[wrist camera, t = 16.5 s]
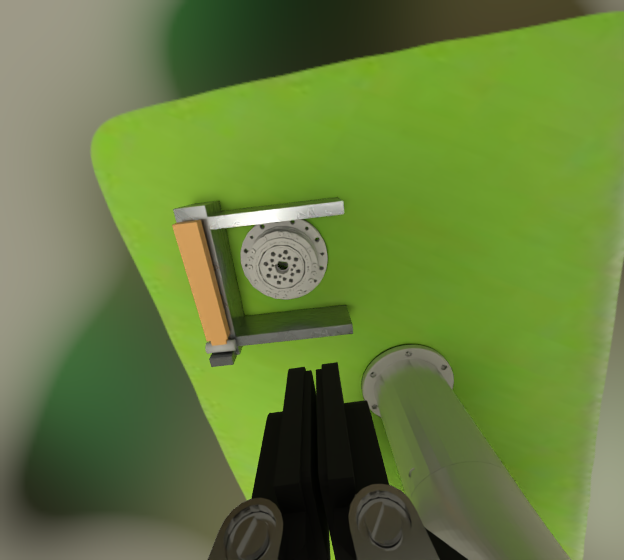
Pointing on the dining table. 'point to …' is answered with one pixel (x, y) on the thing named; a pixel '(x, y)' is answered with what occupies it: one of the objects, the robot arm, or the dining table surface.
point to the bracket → (240, 326)
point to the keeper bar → (204, 285)
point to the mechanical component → (284, 258)
